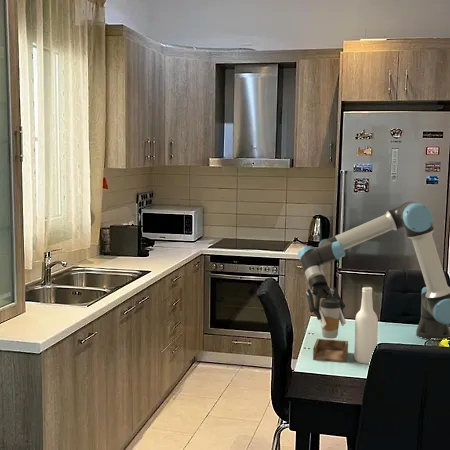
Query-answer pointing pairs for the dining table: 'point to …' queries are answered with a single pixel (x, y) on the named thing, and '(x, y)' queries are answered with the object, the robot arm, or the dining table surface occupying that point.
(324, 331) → the coffee cup
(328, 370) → the dining table surface
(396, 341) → the dining table surface
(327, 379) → the dining table surface
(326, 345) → the cup holder
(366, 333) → the white bottle
